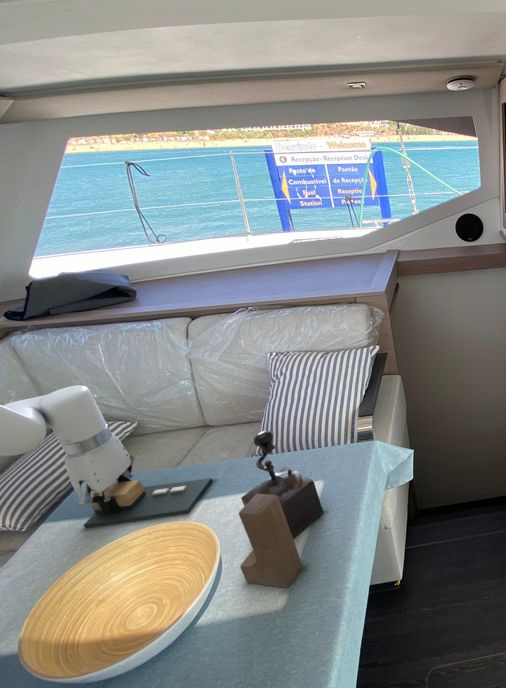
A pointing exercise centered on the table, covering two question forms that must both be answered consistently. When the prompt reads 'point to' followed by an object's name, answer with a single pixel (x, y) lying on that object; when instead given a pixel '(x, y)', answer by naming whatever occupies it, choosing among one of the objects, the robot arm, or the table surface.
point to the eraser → (123, 495)
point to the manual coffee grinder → (287, 489)
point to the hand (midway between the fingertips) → (121, 502)
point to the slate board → (157, 504)
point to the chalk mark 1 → (160, 491)
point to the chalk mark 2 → (178, 489)
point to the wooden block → (269, 543)
